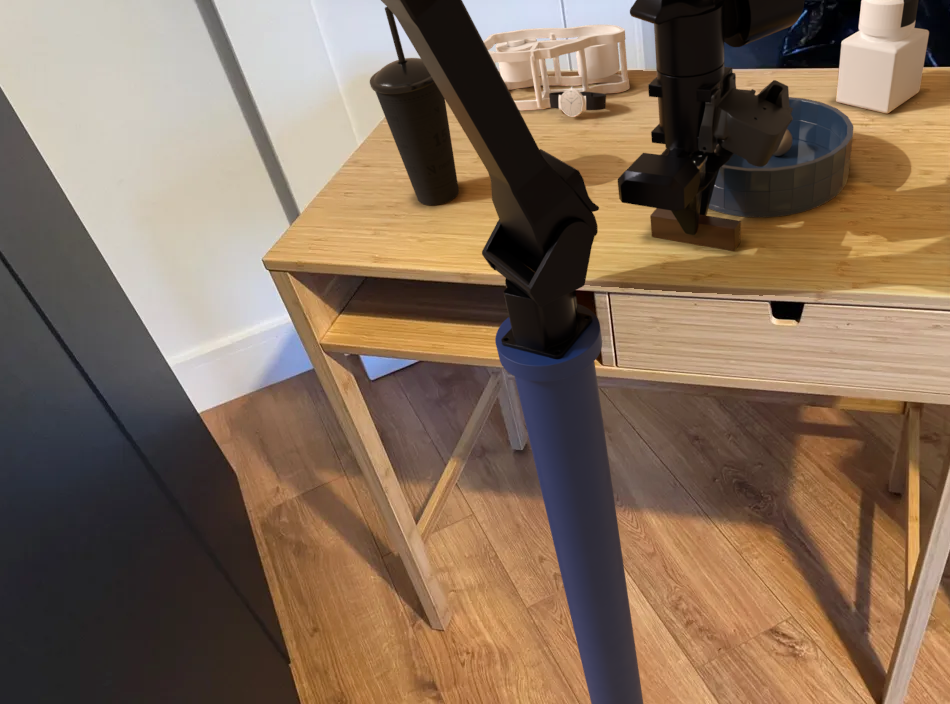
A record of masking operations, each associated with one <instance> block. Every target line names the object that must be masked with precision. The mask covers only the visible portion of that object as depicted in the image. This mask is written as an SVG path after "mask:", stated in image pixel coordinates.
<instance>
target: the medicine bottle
mask: <svg viewBox="0 0 950 704" xmlns="http://www.w3.org/2000/svg"><path fill="white" fill-rule="evenodd" d="M918 7H919V0H861V1H860V11H859V18H858V31H856V32H855V33H853V34H851V35H849V36H848V37H846V38H844V39H843V40H841V43H840V51H839V61H838V71H837V72H838V73H837V81H836V82H837V83H836V93H835V102H836V103H839V104H843V105H848V106H852V107H855V108H861V109H865V110H869V111H873V112H878V113H882V114H885V115H886V114H889V113H891V112H892V111H894V110H895V109H896V108H898V107H900V106H901V105H903V104H904V103H906V102H907V101H908V100H910V99H911V98H913V97H914V96H916V95H917V94H919V92H920V89H921V84H922V79H923V72H924V66H925V60H926V56H927V55H926V54H927V48H928V43H929V36H930V31H929V30H928V29H925V28H918V27H915V26H916V20H917V13H918Z"/></svg>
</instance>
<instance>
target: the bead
mask: <svg viewBox="0 0 950 704" xmlns="http://www.w3.org/2000/svg"><path fill="white" fill-rule="evenodd" d="M791 146H792V135H791V133H790V131H789V130H788V129H786V132H785V134H784V136H783V139H782V141H781V143H780V146H779V148H778V150H777V151H776V152H775V153H774V154H773V155H774V156H781V155H783V154H785V153H787V152H788V151H789V149H790V148H791Z"/></svg>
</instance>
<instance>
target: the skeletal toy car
mask: <svg viewBox="0 0 950 704" xmlns="http://www.w3.org/2000/svg"><path fill="white" fill-rule="evenodd" d="M538 39H545V40H538ZM546 39H548V40H546ZM483 42H484V44H485V46H486V48H487V50H488V52H489V54H490V55H491V57H492V59H493V61H494V63H495V64H496V63H498V69H499V73H500V75H501V77H502V79H503V81H504V82H505V84H506V86H507V88H508V90H509V91H510V90H516V89H524V88H529V87H533V88H534V94H535V99H525V100H524V99H521V100H514V102H515V104H516V106H517V108H518V109H519V111H536V110H537V111H538V110H545V109H552V108H551V107H550V99H549V94H550V93H554V92H565V91H566V90H568V89H569V88H551V89H550V86H559V87H560V86H563V87H564V86H565V87H573V89H576V90H578V91H579V92H594V93H602V94H606V95H607V94H616V93H617V94H618V93H623V92H626V91H628V90H630V78H629V75H628V74H629V72H628V60H627V49H626V47H627V46H626V29H625V28H623V27H621V26H619V25H615V24H587V25H580V26H572V27H537V28H523V29H517V30H510V31H502V32H497V33H491V34H489V35H488V36H487V38H486V39H484V40H483ZM493 46H495V51H494V50H491V49H492V48H493ZM572 53H575V56H576V64H577V73H578V75H562V71H561V65H560V64H561V63H560V56H563V55H568V54H572ZM547 59H552V63H553V69H554V75H548V69H547V68H548V67H547V64H546V63H547V62H546V60H547ZM620 70H621V71H620ZM619 71H620V72H621V74H619V73H618V72H619ZM592 84H595V85H592ZM589 85H591V86H589ZM575 86H582V87H577V88H576V87H575ZM542 87H543V88H542ZM574 87H575V88H574ZM542 89H543V90H542Z"/></svg>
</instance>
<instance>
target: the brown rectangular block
mask: <svg viewBox="0 0 950 704" xmlns="http://www.w3.org/2000/svg"><path fill="white" fill-rule="evenodd" d="M649 218H650V231H651V232H650V233H651V238H656V239H662V240H668V241H674V242H679V243H685V244H691V245H696V246H702V247H708V248H712V249H719V250H725V251H731V252H735V251H736V250H737V248H738V247H739V246H740V244H741V226H742V225H741V220H737V219H730V218H724V217H717V216H713V215H707V216H706V215H700V214H699V222H698V227H697V233H696V234H695V235H689V234H686V233H685V232H684V231H683V229H682V228H681V226H680V224H679V223H678V221H677V219H676V218H675V216H674V215H673V213H672V211H671V210H665V209H659V208H655V209H654V211H653V212H652V213H651V214H650V217H649Z"/></svg>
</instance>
